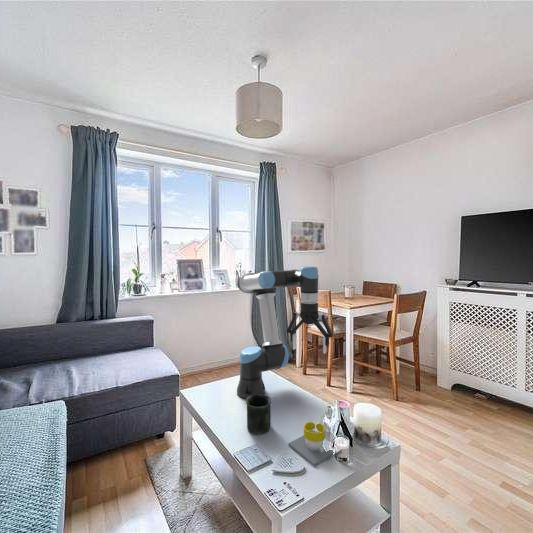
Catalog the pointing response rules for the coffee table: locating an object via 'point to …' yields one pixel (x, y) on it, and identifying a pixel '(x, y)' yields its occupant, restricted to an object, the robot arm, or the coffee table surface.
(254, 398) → the mug
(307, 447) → the plate
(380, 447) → the coffee table surface
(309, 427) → the bracelet
